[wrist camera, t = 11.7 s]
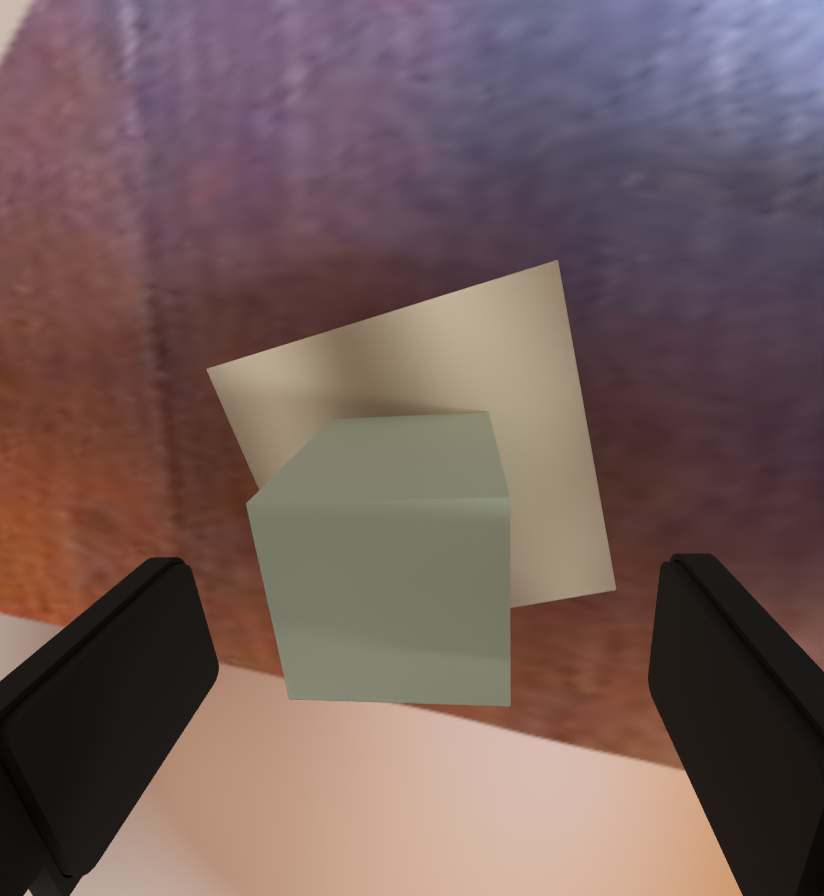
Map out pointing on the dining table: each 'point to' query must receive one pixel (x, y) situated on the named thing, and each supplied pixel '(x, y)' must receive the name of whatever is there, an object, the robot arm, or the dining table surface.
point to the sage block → (390, 562)
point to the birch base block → (452, 410)
